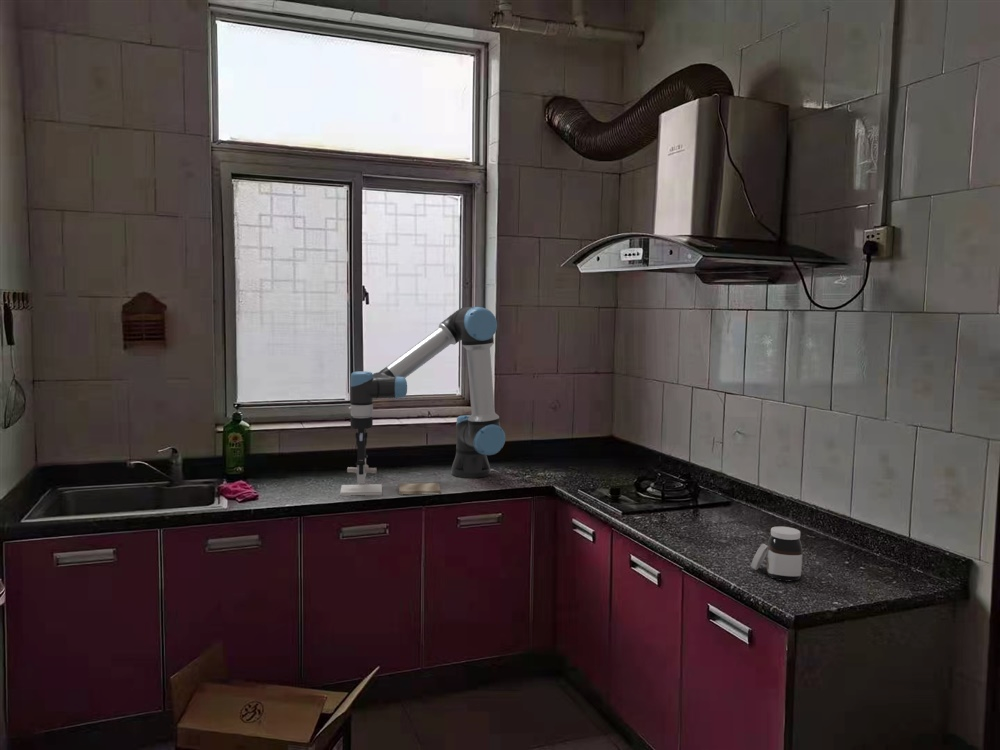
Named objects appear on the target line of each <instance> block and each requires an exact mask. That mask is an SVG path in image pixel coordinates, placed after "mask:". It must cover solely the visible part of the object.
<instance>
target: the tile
mask: <svg viewBox="0 0 1000 750" xmlns="http://www.w3.org/2000/svg"><path fill="white" fill-rule="evenodd" d="M340 487H341V488H340V491H339V496H340V497H352V496H351V495H365V496H383V495H382V494H383V484H382V483H380V484H379V483H376V484H375V483H374V484H366V483H365V484H364V485H360V484H341V486H340Z"/></svg>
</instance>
